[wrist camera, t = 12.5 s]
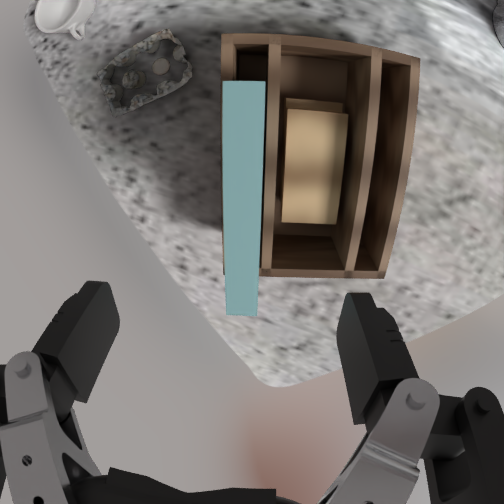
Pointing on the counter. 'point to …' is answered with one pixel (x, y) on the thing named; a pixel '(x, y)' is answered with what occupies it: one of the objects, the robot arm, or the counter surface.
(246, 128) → the teal board
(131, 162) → the counter surface
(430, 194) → the counter surface
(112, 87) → the egg carton
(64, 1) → the teacup
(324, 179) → the oak offcut upper
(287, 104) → the oak offcut lower
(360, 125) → the rack
